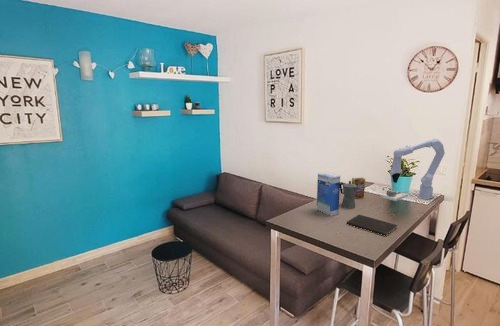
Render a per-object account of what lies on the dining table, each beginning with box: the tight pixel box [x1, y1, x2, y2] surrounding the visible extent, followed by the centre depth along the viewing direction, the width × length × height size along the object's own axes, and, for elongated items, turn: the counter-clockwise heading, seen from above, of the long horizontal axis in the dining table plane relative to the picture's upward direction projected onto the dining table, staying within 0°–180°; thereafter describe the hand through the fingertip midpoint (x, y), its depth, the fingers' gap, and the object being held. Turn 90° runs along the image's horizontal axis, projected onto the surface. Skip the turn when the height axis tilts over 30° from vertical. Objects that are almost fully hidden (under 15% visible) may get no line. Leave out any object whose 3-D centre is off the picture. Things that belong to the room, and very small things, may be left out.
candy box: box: [351, 177, 366, 199], centre depth 217 cm, size 9×4×15 cm, turn 98°
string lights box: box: [316, 171, 341, 217], centre depth 188 cm, size 13×8×26 cm, turn 32°
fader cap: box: [386, 189, 397, 197], centre depth 215 cm, size 4×5×4 cm
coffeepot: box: [340, 180, 358, 209], centre depth 201 cm, size 15×9×18 cm, turn 33°
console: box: [380, 190, 408, 202], centre depth 218 cm, size 17×11×2 cm, turn 125°
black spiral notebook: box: [346, 214, 399, 237], centre depth 168 cm, size 16×23×2 cm
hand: (395, 182), depth 224 cm, fingers closed
